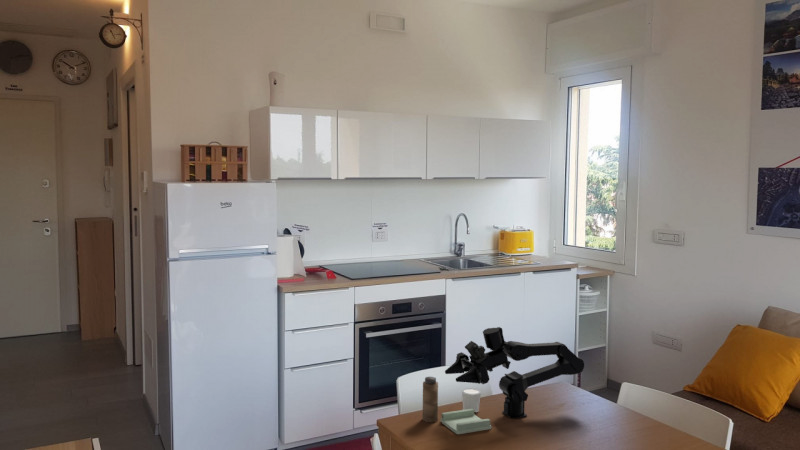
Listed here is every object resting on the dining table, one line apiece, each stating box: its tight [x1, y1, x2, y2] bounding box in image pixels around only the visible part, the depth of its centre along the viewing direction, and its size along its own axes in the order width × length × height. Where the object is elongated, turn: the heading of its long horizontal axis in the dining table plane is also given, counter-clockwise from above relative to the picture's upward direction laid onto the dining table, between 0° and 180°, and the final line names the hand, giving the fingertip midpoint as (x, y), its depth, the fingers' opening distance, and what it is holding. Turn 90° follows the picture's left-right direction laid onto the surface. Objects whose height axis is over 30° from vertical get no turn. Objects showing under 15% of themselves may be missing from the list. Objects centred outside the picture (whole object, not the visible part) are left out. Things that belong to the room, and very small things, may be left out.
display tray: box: [439, 409, 493, 435], centre depth 207 cm, size 13×12×3 cm
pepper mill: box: [422, 376, 439, 423], centre depth 212 cm, size 5×5×15 cm
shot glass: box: [461, 388, 482, 413], centre depth 222 cm, size 7×7×7 cm
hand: (450, 376), depth 209 cm, fingers open, 9 cm apart
